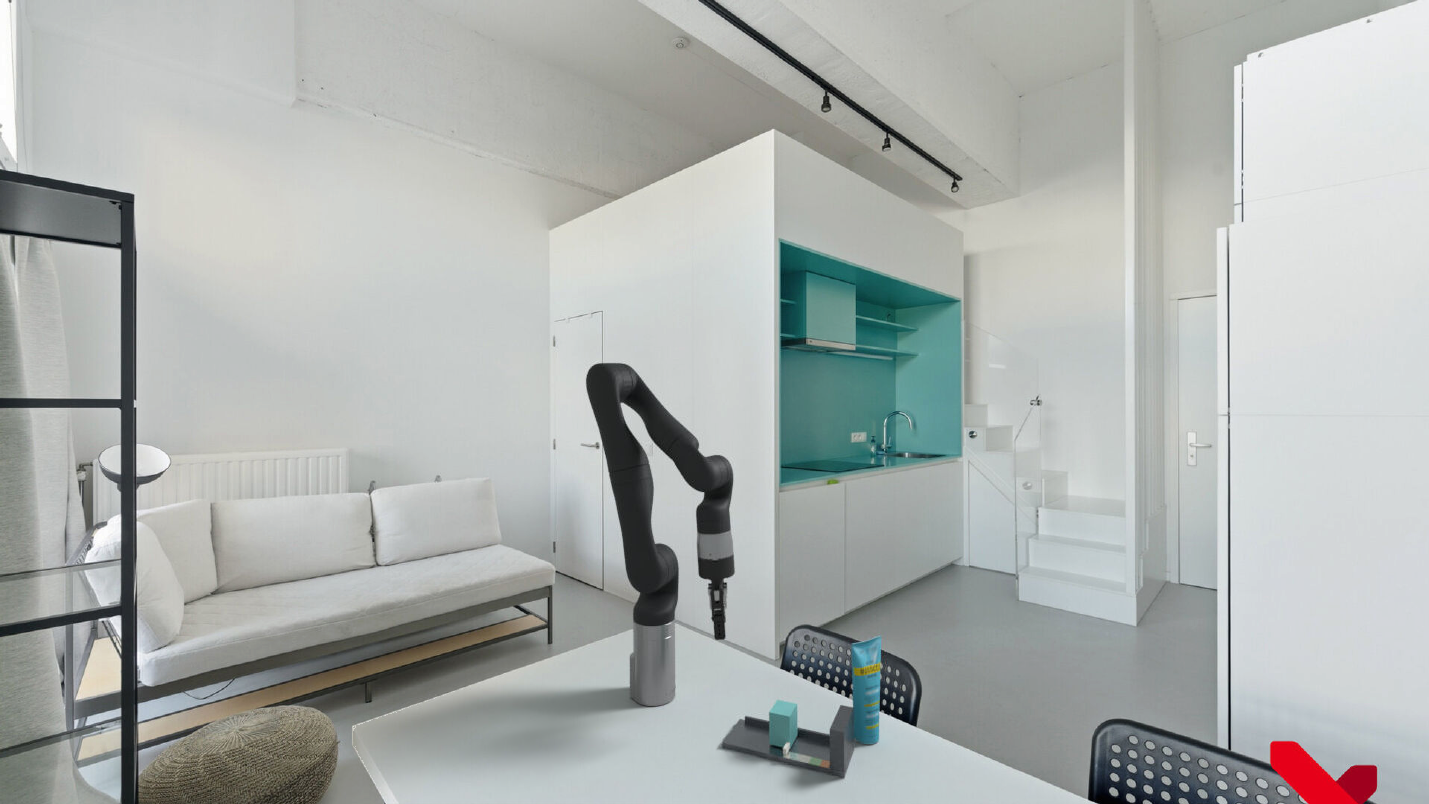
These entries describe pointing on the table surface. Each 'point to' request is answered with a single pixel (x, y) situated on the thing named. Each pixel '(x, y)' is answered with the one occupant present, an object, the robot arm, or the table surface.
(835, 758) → the base
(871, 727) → the tube
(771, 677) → the table surface
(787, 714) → the block
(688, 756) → the table surface
